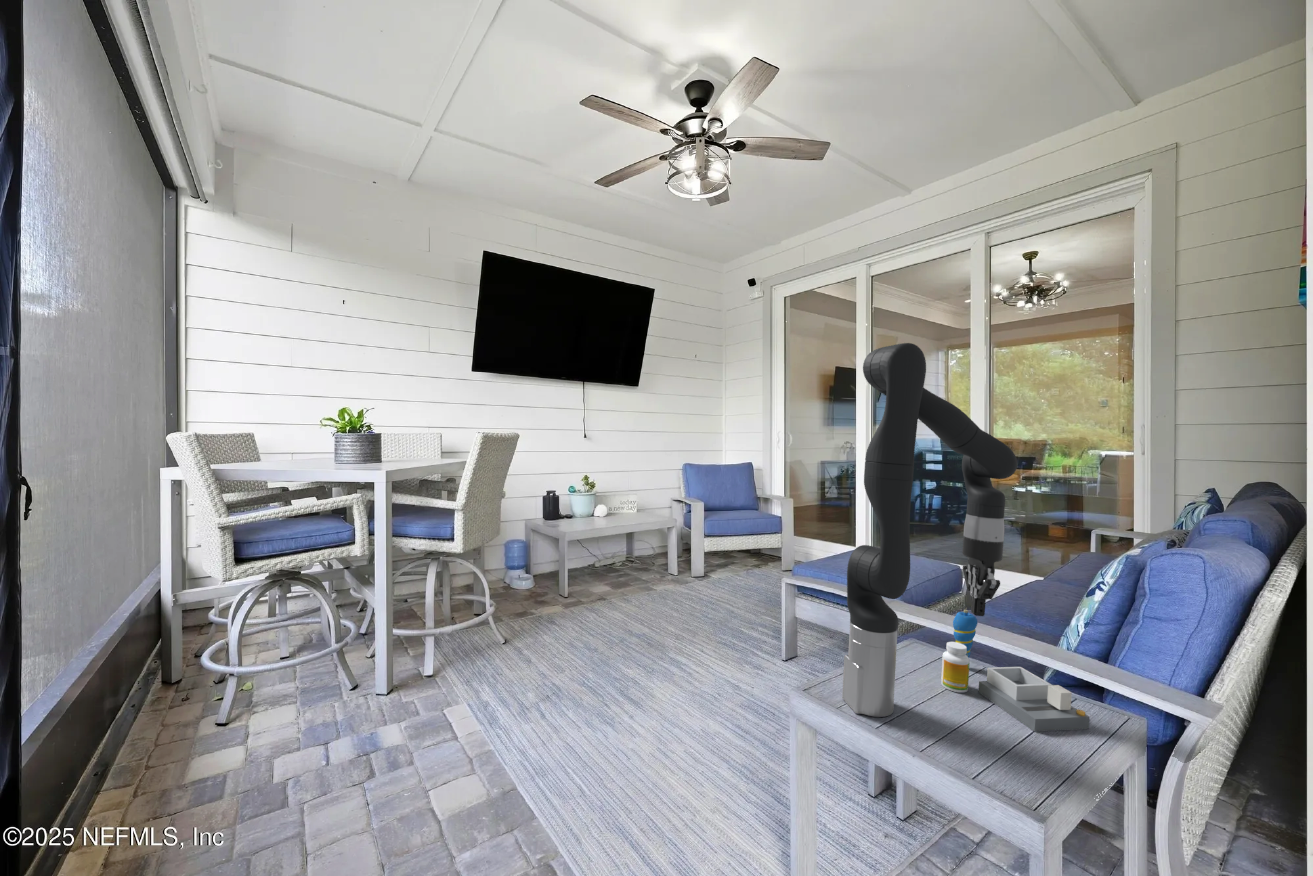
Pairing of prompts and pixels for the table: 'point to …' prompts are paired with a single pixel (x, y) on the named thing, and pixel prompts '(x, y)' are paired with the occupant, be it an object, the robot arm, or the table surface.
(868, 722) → the table surface
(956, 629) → the ornament
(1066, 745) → the table surface
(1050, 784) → the table surface
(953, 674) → the supplement bottle
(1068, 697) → the breaker handle
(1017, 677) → the breaker panel
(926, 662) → the table surface
